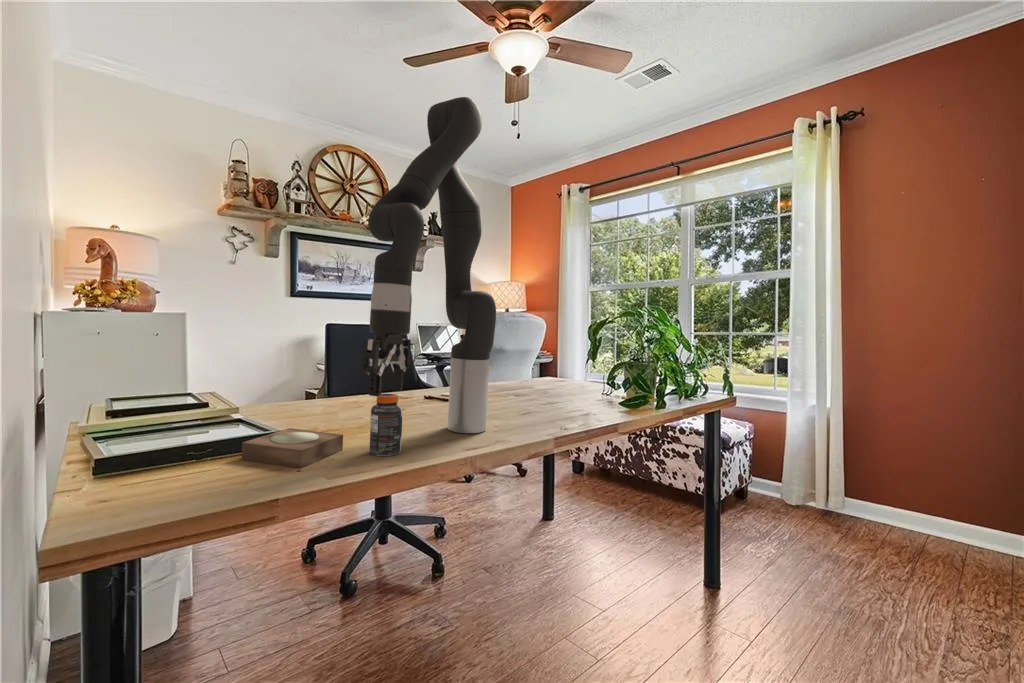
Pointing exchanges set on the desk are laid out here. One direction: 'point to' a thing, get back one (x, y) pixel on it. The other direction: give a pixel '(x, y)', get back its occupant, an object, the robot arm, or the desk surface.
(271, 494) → the desk surface
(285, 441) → the walnut base
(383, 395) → the pill bottle
